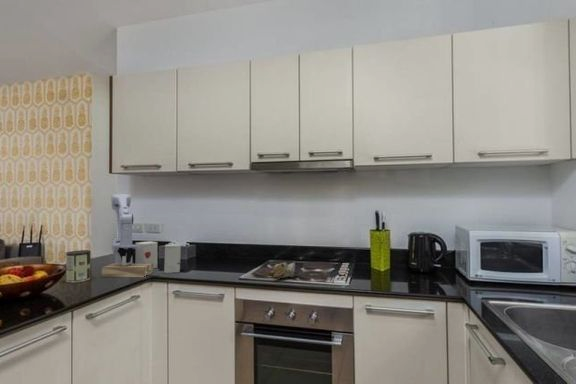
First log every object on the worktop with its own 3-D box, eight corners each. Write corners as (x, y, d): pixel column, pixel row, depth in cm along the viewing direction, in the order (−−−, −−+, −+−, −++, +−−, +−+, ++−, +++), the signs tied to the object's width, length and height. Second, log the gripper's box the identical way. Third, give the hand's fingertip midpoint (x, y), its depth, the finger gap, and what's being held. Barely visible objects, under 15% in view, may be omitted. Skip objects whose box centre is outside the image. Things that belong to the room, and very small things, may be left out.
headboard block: (113, 272, 179) (113, 263, 179) (152, 272, 178) (152, 263, 178) (101, 277, 168) (101, 267, 168) (143, 277, 167) (143, 267, 167)
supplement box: (143, 270, 183) (143, 243, 183) (134, 268, 188) (134, 242, 189) (158, 267, 190) (158, 242, 191) (149, 266, 196) (149, 240, 196)
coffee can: (79, 277, 169) (79, 249, 169) (95, 278, 166) (95, 250, 166) (60, 282, 159) (60, 252, 159) (77, 283, 156) (77, 253, 156)
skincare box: (164, 273, 176) (164, 245, 176) (164, 271, 181) (164, 244, 182) (180, 272, 178) (180, 244, 178) (180, 270, 184) (180, 243, 184)
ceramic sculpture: (299, 260, 162) (271, 265, 156) (300, 278, 162) (272, 283, 156) (290, 257, 172) (263, 261, 165) (291, 274, 172) (264, 279, 165)
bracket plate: (126, 269, 175) (126, 254, 176) (130, 269, 175) (130, 254, 176) (122, 271, 171) (122, 256, 171) (125, 271, 171) (125, 256, 171)
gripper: (108, 237, 170) (108, 263, 169) (135, 237, 169) (135, 263, 169) (116, 236, 177) (116, 261, 176) (142, 236, 176) (142, 261, 176)
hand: (126, 262), depth 173 cm, fingers closed on bracket plate, 2 cm apart
